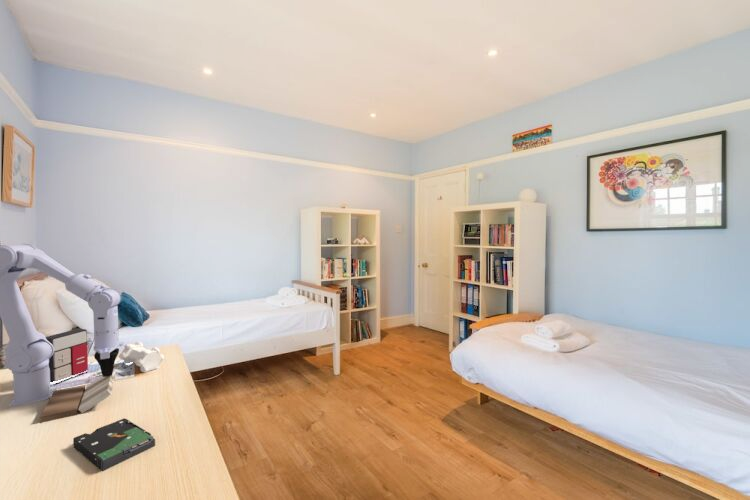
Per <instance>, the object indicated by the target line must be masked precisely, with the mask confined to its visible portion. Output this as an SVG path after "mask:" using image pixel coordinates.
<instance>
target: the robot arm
mask: <svg viewBox="0 0 750 500" xmlns="http://www.w3.org/2000/svg"><path fill="white" fill-rule="evenodd" d="M27 269H36V270H37V271H40V272H42V273H44V274H45V275H47V276H50V277H51V278H53V279H55V280H57V281H59V282H61V283H62V284H64V286H65V290H66V291H67V292H69V293H70V294H73V295H75V296H76V297H77V298H79V299H81V300H82V301H84V302H86V303H87V304H88V306H89V308H90V309H91V311H92V312H93V313H92V315H93V342H94V343H93V345H94V346H93V350H94V351H95V353H94V356H93V358H94V359H95V360H96V361H97V363H98V365H99V368H100V372H101V375H102V376H103V377H106V376H112V373H113V372H114V367H115V361H116V359H117V357H118V356H119V354H120V352H119V351H120V348H119V347H123V346H125V344H124V341H120V339H119V312H118V311H119V309H118V308H119V306H118V305H119V304H120V303H121V300H122V295H121V293H120V292H119V291H118V290H117V289H116V288H113V287H109V288H108V287H107V285H106V284H101V283H100V282H97V281H96V280H94V279H92V276H91V275H90V274H84V273H77V274H75V273H74V272H72V271H71V270H69V269H68V268H67V267H65V266H63V265H62V264H60V263H59V262H57V261H56V260H55V259H53V258H51V257H50V256H49V255H47V254H46V253H45V251H43V250H42V249H39V248H37V247H36V246H34V245H32V244H28V243H23V244H22V243H21V244H10V245H8V244H7V245H6V244H0V319H1V321H2V324H3V326H4V329H5V331H6V333H7V337H8V338H9V341H8V342H7V343H6V346H5V347H4V352H5V361H4V362H5V366H6V368H7V369H8V370H10V371H11V374H12V377H13V378H12V380H13V399H12V400H11V402H10V403H9V405H8V407H9V408H10V407H11V408H12V407H15V406H21V405H26V404H27V405H28V404H31V403H36V402H42V401H46V400H49V399H50V398H51V396H52V394H53V392H54V391H55V390H54V389H55V388H53V389H51V388H50V387H51V385H50V368H49V358H51V357H52V355H53V353H54V347H53V345H52V344H51V343H50V342H49V341H48V340H47V339H46V337H47V336H46V335H45V334H44V333H41V332H40V331H37V329H36V326H35V324H34V322H33V318H32V317H31V313H30V311H29V309H28V307H27V304H26V302H25V298H24V297H23V294H22V292H21V290H20V287H19V285H18V282H17V279H18V278H19V276H20V275H21V274H22V273H23V272H24V271H25V270H27Z"/></svg>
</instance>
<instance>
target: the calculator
mask: <svg viewBox="0 0 750 500" xmlns="http://www.w3.org/2000/svg"><path fill="white" fill-rule="evenodd" d="M87 331H88V330H87V329H86V328H85V329H84V328H83V329H82V328H76V329H71V330H68V331H64V332H59V333H56V334H52V335H49V336H45V337H46V339H47V340H48V341H49V342H50V343H51V344H52V345H53V347H54V353H53V355H52V357H51V358H49V368H50V382H53V381H58V380H61V379H64V378H67V377H70V376H71V375H75V374H78V373H81V372H84V371H86V370H88V371H89V362H88V360H89V359H88V332H87Z"/></svg>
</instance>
